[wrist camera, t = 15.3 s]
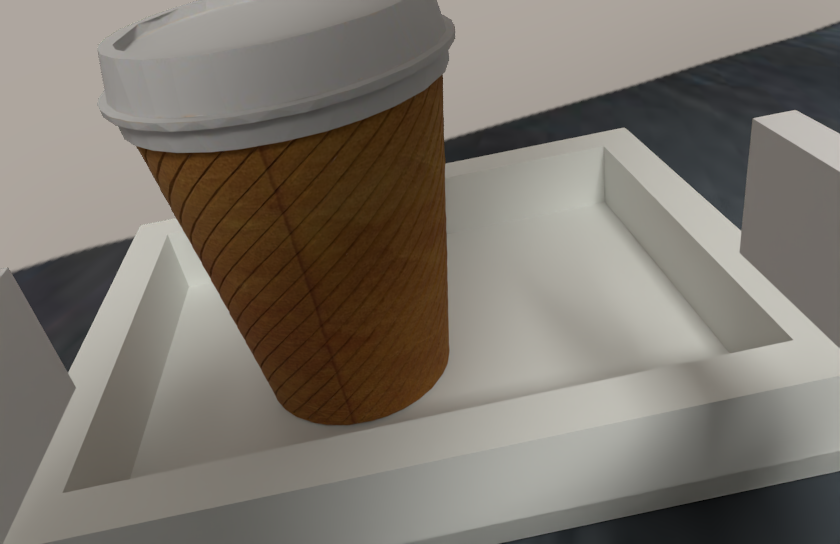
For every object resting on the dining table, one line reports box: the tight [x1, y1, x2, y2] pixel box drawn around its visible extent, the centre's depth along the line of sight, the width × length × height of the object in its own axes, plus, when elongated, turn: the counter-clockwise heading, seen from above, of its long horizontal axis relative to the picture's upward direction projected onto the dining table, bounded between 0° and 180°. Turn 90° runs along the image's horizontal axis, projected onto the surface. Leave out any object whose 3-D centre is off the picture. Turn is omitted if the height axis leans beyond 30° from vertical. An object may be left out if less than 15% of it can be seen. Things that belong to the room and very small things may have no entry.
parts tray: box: [3, 128, 840, 544], centre depth 24 cm, size 22×17×4 cm
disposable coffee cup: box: [97, 0, 455, 425], centre depth 21 cm, size 10×10×12 cm
